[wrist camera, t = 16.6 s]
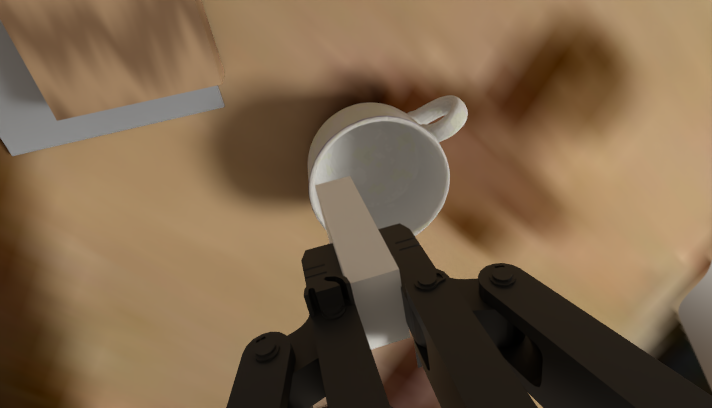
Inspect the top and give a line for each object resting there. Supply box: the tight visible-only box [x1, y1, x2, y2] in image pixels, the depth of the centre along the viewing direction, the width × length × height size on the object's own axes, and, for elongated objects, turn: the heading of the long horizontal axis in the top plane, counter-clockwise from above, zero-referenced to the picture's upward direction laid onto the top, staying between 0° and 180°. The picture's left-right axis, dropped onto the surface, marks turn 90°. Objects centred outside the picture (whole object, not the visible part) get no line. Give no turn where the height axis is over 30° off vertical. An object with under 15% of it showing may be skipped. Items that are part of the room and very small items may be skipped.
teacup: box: [308, 96, 468, 236], centre depth 35 cm, size 14×11×8 cm
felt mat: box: [0, 20, 225, 156], centre depth 29 cm, size 14×16×1 cm
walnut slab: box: [0, 0, 225, 121], centre depth 28 cm, size 9×4×11 cm
